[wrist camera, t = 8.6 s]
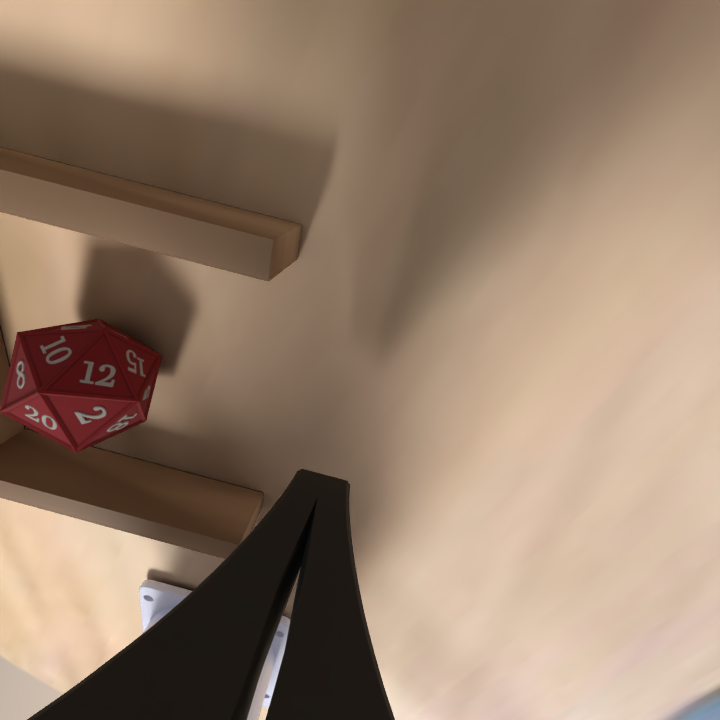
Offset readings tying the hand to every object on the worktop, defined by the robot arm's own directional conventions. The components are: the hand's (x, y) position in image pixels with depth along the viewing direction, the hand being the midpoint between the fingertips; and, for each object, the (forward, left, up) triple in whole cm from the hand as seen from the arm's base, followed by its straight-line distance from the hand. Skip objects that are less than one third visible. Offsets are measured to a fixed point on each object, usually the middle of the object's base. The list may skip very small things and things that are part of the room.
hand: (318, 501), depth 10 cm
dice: (0, +8, -4) cm, 9 cm away
